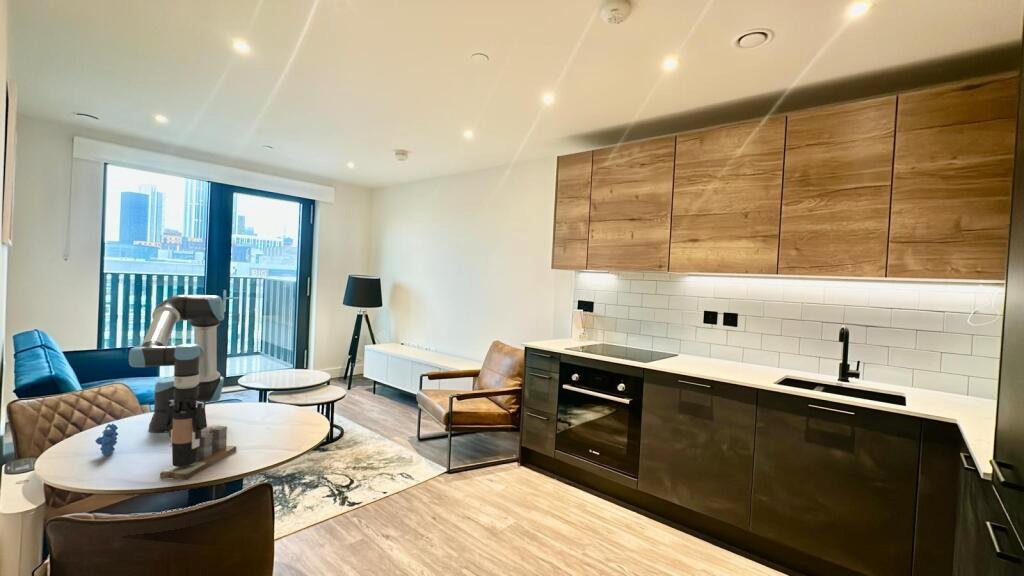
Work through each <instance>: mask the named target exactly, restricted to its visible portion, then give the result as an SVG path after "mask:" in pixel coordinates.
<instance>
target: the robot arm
mask: <svg viewBox="0 0 1024 576" xmlns="http://www.w3.org/2000/svg"><path fill="white" fill-rule="evenodd" d="M224 308H225V307H224V301H223V299H222V297H221V296H220V295H210V294H208V295H207V294H205V295H204V294H177V295H174V296H170V297H169V298H166V299H165V300H163V301H162V302H160V303H159V304H158V305H157V306H156V307H155V308H154V310H153V312H152V314H151V315H152V316H151V317H152V321H151V323H150V324H149V327H148V329H147V332H146V335H145V337H144V338H143V341H142V344H141V345H140V346H135V347H134V346H133V347H132V348H130V350H129V353H128V364H129V367H132V368H150V367H153V368H154V367H173V366H174V367H173V368H174V370H173V371H174V373H173V376H170V377H165V378H162V379H160V380H157V382H155V384H154V391H153V394H154V398H153V399H154V400H153V401H154V404H153V405H154V406H153V409H154V410H153V411H154V412H153V415H152V417H151V419H150V422H149V424H148V431H149V432H152V433H168V436H169V438H170V447H171V448H172V430H173V411H174V410H175V411H174V412H175V413H179V412H180V411H185V412H192V411H191V410H193V411H195V410H197V414H196V415H195V416H193V415H192V425H193V428H194V431H192V449H194V448H196V447H198V446H199V439H200V438H201V433H202V430H204V429H206V428H207V427H208V424H207V422H208V421H207V414H206V405H207V403H211V402H218V401H219V400H221V396H222V391H223V386H224V381H225V380H224V379H225V377H224V376H221V373H220V372H219V371H217V370H218V369H217V366H218V365H217V364H218V363H217V362H218V361H217V354H218V353H217V349H218V347H217V344H218V343H217V337H218V335H217V333H218V332H217V328H218V326H219V325H220V324H221V321H224V319H225V309H224ZM179 321H189V322H190V323H189V324H190V326H191V327H192V328H193V330H194V335H193V336H194V338H193V339H194V343H183V344H177V345H168V343H169V341H170V338H171V336H172V333H173V330H174V327H175V324H177V323H178V322H179Z"/></svg>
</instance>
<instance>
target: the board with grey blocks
mask: <svg viewBox="0 0 1024 576" xmlns="http://www.w3.org/2000/svg"><path fill="white" fill-rule="evenodd" d="M227 433H228V427H227V426H226V425H225V426H224V425H217V426H214V427H212V428H210V430H209V431H208V432H201V438H200V439H199V446H198V447H197V457H196V462H194V463H193V464H190V465H187V466H181V467H176V466H173V465H171V466H169V467H167V468H165V469H163V470H161V471H160V472H159V474H160V475H159V478H160V479H166V478H173V479H172V480H178V479H181V481H187V480H189V479H191V478H192V477H194V476H196V475H197V474H199V473H201V472H203V471H204V470H206V469H208V468H211V466H213V465H215V464H216V463H218V462H221V460H223V459H224V458H227V457H228V456H231V455H232V454H233V453H236V451H237V446H236V445H227V439H228V438H227V435H228V434H227Z"/></svg>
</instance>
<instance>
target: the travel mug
mask: <svg viewBox="0 0 1024 576" xmlns="http://www.w3.org/2000/svg"><path fill="white" fill-rule="evenodd" d="M174 411H175V410H174ZM174 411H173V430H172V447H171V453H172V454H171V458H172V460H171V461H172V466H176V467H181V466H187V465H190V464H193V463H194V462H196V457H197V447H196V448H194V449H192V431H194V428H193V425H192V415H193V416H195V415H196V414H197V410H195V411H193V410H191V411H192V412H185V411H180V412H179V413H175V412H174Z"/></svg>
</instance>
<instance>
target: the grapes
mask: <svg viewBox="0 0 1024 576" xmlns="http://www.w3.org/2000/svg"><path fill="white" fill-rule="evenodd" d="M104 428H105V429H104V430H103V431H102V432H101V433H102V434H103V435H101V436H99V437H97V438H96V439H95V441H94V442H95V443H96V444H97V445H99V446H101V447H100V448H99V449H100V451H101V454H102V456H103V457H108V456H110V455H111V454H112V453H113V452H114V451H115V449H116V448H115V446H116V444H117V443H118V438H117V436H119V432H118V431H117V430H118V429H119V428H118V425H116V424H114V423H112V422H111V423H108V424H107V425H106V426H105V427H104Z"/></svg>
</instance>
